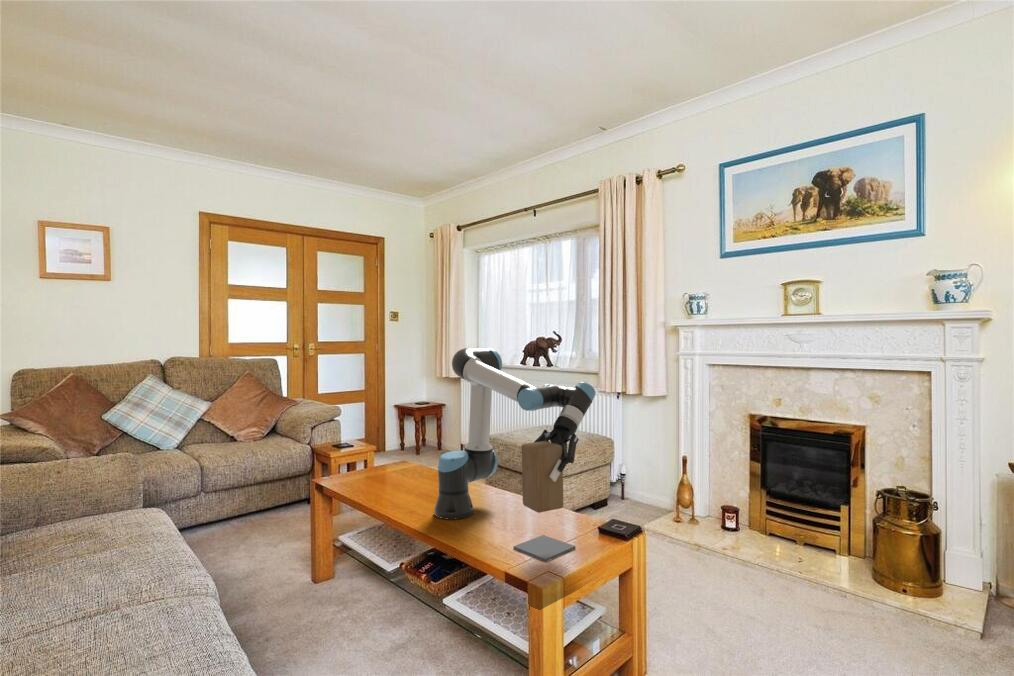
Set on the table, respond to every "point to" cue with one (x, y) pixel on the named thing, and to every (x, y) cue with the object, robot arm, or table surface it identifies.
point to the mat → (544, 547)
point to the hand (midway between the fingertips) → (537, 476)
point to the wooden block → (541, 476)
